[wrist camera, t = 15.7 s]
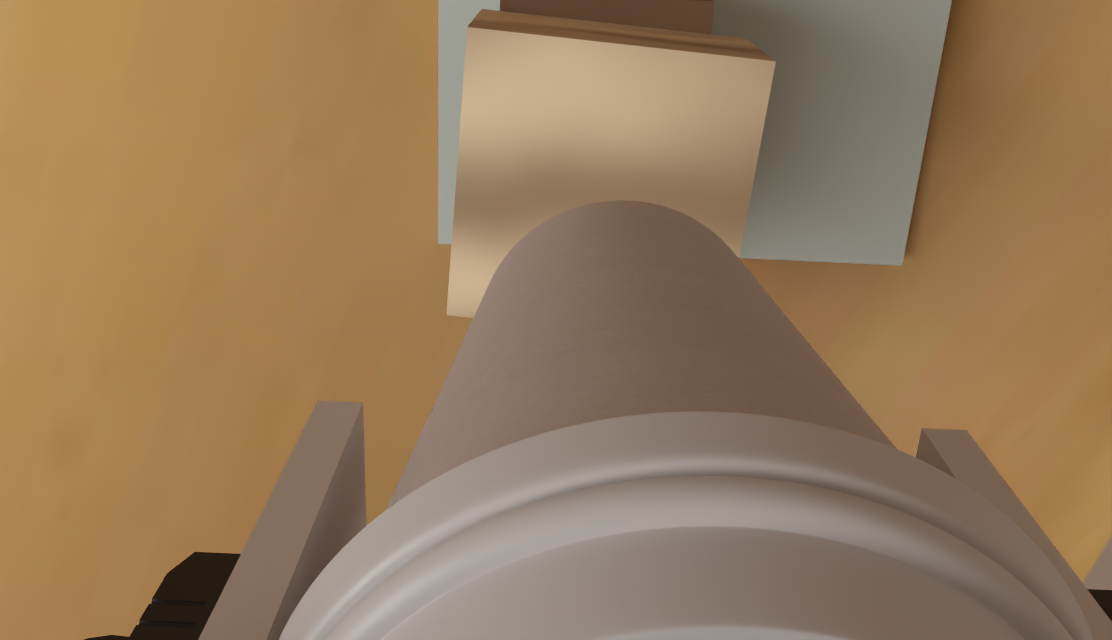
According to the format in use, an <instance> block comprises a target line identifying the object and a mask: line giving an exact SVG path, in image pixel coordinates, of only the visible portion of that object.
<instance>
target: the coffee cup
mask: <svg viewBox="0 0 1112 640" xmlns="http://www.w3.org/2000/svg"><path fill="white" fill-rule="evenodd" d="M279 640H1094V639H1093V636H1092V633H1091V631H1090V628H1089V626H1088V623H1087V621H1086V619H1085V617H1084V615H1083V612H1082V610H1081V609H1080V607H1079V605H1078V603H1077V601H1076V599H1075V597H1074V596H1073V594H1072V592H1071V591H1070V589H1069V587H1068V586H1067V584H1066V582H1065V581H1064V579H1063V578H1062V577H1061V575H1060V574H1059V572H1058V571H1057V569H1056V568H1055V567H1054V565H1053V564H1052V563H1051V561H1050V560H1049V559H1048V558H1047V556H1046V555H1045V554H1044V553H1043V552H1042V551H1041V549H1040V548H1039V547H1038V546H1037V545H1036V544H1035V543H1034V542H1033V540H1032V539H1031V538H1030V537H1029V536H1028V535H1027V534H1026V533H1025V532H1024V531H1023V530H1022V529H1021V528H1020V527H1019V526H1018V525H1016V524H1015V523H1014V522H1013V521H1012V520H1011V519H1010V518H1009V517H1008V516H1006V515H1005V514H1004V513H1003V512H1002V511H1001V510H999V509H998V508H997V507H996V506H994V505H993V504H992V503H990V502H989V501H988V500H986V499H985V498H984V497H982V496H981V495H980V494H978V493H977V492H975V491H974V490H972V489H971V488H969V487H968V486H966V485H965V484H963V483H962V482H960V481H958V480H957V479H955V478H954V477H952V476H950V475H948V474H947V473H945V472H943V471H941V470H939V469H938V468H936V467H934V466H932V465H930V464H928V463H926V462H924V461H922V460H920V459H918V458H916V457H913V456H911V455H909V454H907V453H904V452H902V451H900V450H898V449H897V448H896V447H895V446H894V445H893V444H892V442H891V441H890V440H889V439H888V438H887V436H886V435H885V434H884V433H883V432H882V431H881V429H880V428H879V427H878V426H877V425H876V423H875V422H874V421H873V420H872V419H871V417H870V416H869V415H868V414H867V413H866V411H865V410H864V409H863V408H862V407H861V406H860V404H859V403H858V402H857V401H856V400H855V398H854V397H853V396H852V395H851V394H850V392H849V391H848V390H847V389H846V388H845V386H844V385H843V384H842V383H841V382H840V380H839V379H838V378H837V377H836V376H835V374H834V373H833V372H832V371H831V369H830V368H829V367H828V366H827V365H826V363H825V362H824V361H823V360H822V359H821V357H820V356H819V355H818V354H817V353H816V351H815V350H814V349H813V348H812V347H811V345H810V344H809V343H808V342H807V341H806V339H805V338H804V337H803V336H802V335H801V333H800V332H799V331H798V330H797V329H796V327H795V326H794V325H793V324H792V322H791V321H790V320H789V319H788V318H787V316H786V315H785V314H784V313H783V312H782V310H781V309H780V308H779V307H778V306H777V304H776V303H775V302H774V301H773V299H772V298H771V297H770V296H769V295H768V293H767V292H766V291H765V290H764V289H763V287H762V286H761V285H760V284H759V282H758V281H757V280H756V279H755V278H754V276H753V275H752V274H751V273H750V272H749V270H748V269H747V268H746V267H745V265H744V264H743V263H742V262H741V261H740V259H739V258H738V257H737V256H736V255H735V253H734V252H733V251H732V250H731V249H730V248H729V247H728V245H727V244H726V243H725V242H724V241H723V240H722V239H721V238H720V237H718V236H717V235H716V234H715V233H714V232H712V231H711V230H710V229H709V228H707V227H706V226H704V225H703V224H701V223H700V222H698V221H697V220H695V219H693V218H691V217H689V216H687V215H685V214H683V213H681V212H679V211H676V210H673V209H670V208H668V207H664V206H661V205H657V204H652V203H647V202H639V201H624V200H621V201H605V202H597V203H592V204H587V205H583V206H580V207H576V208H573V209H570V210H568V211H565V212H563V213H560V214H558V215H556V216H554V217H552V218H550V219H548V220H547V221H545V222H543V223H542V224H540V225H539V226H537V227H536V228H534V229H533V230H532V231H530V232H529V233H528V234H527V235H525V236H524V237H523V238H522V239H521V240H520V241H519V242H518V243H517V244H516V245H515V246H514V247H513V248H512V249H511V250H510V251H509V253H508V254H507V255H506V256H505V258H504V259H503V260H502V262H501V263H500V265H499V266H498V268H497V269H496V271H495V273H494V275H493V277H492V279H491V281H490V283H489V285H488V287H487V289H486V291H485V293H484V296H483V298H482V300H481V302H480V305H479V307H478V309H477V311H476V313H475V316H474V318H473V320H472V322H471V325H470V327H469V329H468V331H467V333H466V336H465V338H464V340H463V342H462V345H461V347H460V349H459V351H458V353H457V356H456V358H455V360H454V362H453V364H452V367H451V369H450V371H449V373H448V375H447V378H446V380H445V382H444V384H443V386H442V389H441V391H440V393H439V395H438V397H437V400H436V402H435V404H434V406H433V408H432V411H431V413H430V415H429V417H428V419H427V422H426V424H425V426H424V428H423V430H422V433H421V435H420V437H419V439H418V441H417V444H416V446H415V448H414V450H413V452H412V454H411V457H410V459H409V461H408V463H407V465H406V467H405V470H404V472H403V474H402V476H401V478H400V480H399V483H398V485H397V487H396V489H395V491H394V493H393V496H392V498H391V500H390V502H389V504H388V506H387V508H386V511H384V512H383V513H382V514H380V515H379V516H378V517H377V518H376V519H374V520H373V521H372V522H371V523H369V524H368V525H367V526H366V527H365V528H364V529H363V530H361V531H360V532H359V533H358V534H357V535H356V536H355V537H354V538H353V539H352V540H351V541H349V542H348V543H347V544H346V545H345V546H344V547H343V548H342V549H341V550H340V551H339V553H338V554H337V555H336V556H335V557H334V558H333V559H332V560H331V561H330V562H329V563H328V565H327V566H326V567H325V568H324V569H323V571H322V572H321V573H320V574H319V575H318V577H317V578H316V579H315V581H314V582H313V583H312V585H311V586H310V587H309V589H308V590H307V591H306V593H305V594H304V596H303V597H302V599H301V600H300V602H299V603H298V605H297V607H296V608H295V610H294V612H293V613H292V615H291V617H290V618H289V620H288V622H287V624H286V626H285V628H284V630H283V632H282V634H281V636H280V638H279Z"/></svg>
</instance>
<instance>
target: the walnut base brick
mask: <svg viewBox="0 0 1112 640" xmlns="http://www.w3.org/2000/svg"><path fill="white" fill-rule="evenodd" d="M714 4H715V1H713V0H500V11H506V12H515V13H524V14H533V15H542V16H550V17H559V18H568V19H577V20H586V21H595V22H604V23H613V24H622V25H631V26H640V27H649V28H657V29H666V30H675V31H684V32H693V33H702V34H711V33H712V23H713V13H714Z"/></svg>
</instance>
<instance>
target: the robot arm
mask: <svg viewBox="0 0 1112 640" xmlns="http://www.w3.org/2000/svg"><path fill="white" fill-rule="evenodd" d="M916 458H918V459H920V460H922V461H924V462H926V463H928V464H930V465H932V466H934V467H936V468H938V469H939V470H941V471H943V472H945V473H947V474H948V475H950V476H952V477H954V478H955V479H957V480H958V481H960V482H962V483H963V484H965V485H966V486H968V487H969V488H971V489H972V490H974V491H975V492H977V493H978V494H980V495H981V496H982V497H984V498H985V499H986V500H988V501H989V502H990V503H992V504H993V505H994V506H996V507H997V508H998V509H999V510H1001V511H1002V512H1003V513H1004V514H1005V515H1006V516H1008V517H1009V518H1010V519H1011V520H1012V521H1013V522H1014V523H1015V524H1016V525H1018V526H1019V527H1020V528H1021V529H1022V530H1023V531H1024V532H1025V533H1026V534H1027V535H1028V536H1029V537H1030V538H1031V539H1032V540H1033V542H1034V543H1035V544H1036V545H1037V546H1038V547H1039V548H1040V549H1041V551H1042V552H1043V553H1044V554H1045V555H1046V556H1047V558H1048V559H1049V560H1050V561H1051V563H1052V564H1053V565H1054V567H1055V568H1056V569H1057V571H1058V572H1059V574H1060V575H1061V577H1062V578H1063V579H1064V581H1065V582H1066V584H1067V586H1068V587H1069V589H1070V591H1071V592H1072V594H1073V596H1074V597H1075V599H1076V601H1077V603H1078V605H1079V607H1080V609H1081V610H1082V612H1083V615H1084V617H1085V619H1086V621H1087V623H1088V626H1089V628H1090V631H1091V633H1092V636H1093V639H1094V640H1112V590H1092V589H1086V587H1085V586H1084V584H1083V583H1082V582H1081V581H1080V579H1079V578H1078V577H1077V575H1076V574H1075V573H1074V571H1073V570H1072V569H1071V567H1070V566H1069V565H1068V563H1067V562H1066V561H1065V559H1064V558H1063V557H1062V555H1061V554H1060V553H1059V551H1058V550H1057V549H1056V547H1055V546H1054V545H1053V544H1052V542H1051V541H1050V540H1049V538H1048V537H1047V536H1046V534H1045V533H1044V532H1043V530H1042V529H1041V528H1040V526H1039V525H1038V524H1037V522H1036V521H1035V520H1034V518H1033V517H1032V516H1031V514H1030V513H1029V512H1028V511H1027V509H1026V508H1025V507H1024V505H1023V504H1022V503H1021V501H1020V500H1019V499H1018V497H1017V496H1016V495H1015V493H1014V492H1013V491H1012V489H1011V488H1010V487H1009V485H1008V484H1007V483H1006V481H1005V480H1004V479H1003V478H1002V476H1001V475H1000V474H999V472H998V471H997V470H996V468H995V467H994V466H993V464H992V463H991V462H990V460H989V459H988V458H987V456H986V455H985V454H984V452H983V451H982V450H981V448H980V447H979V446H978V445H977V443H976V442H975V441H974V439H973V438H972V437H971V435H970V434H969V433H968V431H967V430H951V429H930V428H922V431H921V436H920V440H919V445H918V450H917V455H916ZM366 526H367V525H366V492H365V459H364V425H363V403H362V402H340V401H317V403H316V405H315V407H314V409H313V411H312V413H311V415H310V417H309V419H308V421H307V423H306V425H305V427H304V429H303V431H302V433H301V435H300V437H299V439H298V441H297V443H296V445H295V447H294V449H293V451H292V453H291V455H290V457H289V459H288V461H287V463H286V465H285V467H284V469H283V471H282V473H281V475H280V477H279V479H278V481H277V483H276V485H275V487H274V489H273V491H272V493H271V495H270V497H269V499H268V501H267V503H266V505H265V507H264V509H263V511H262V513H261V515H260V517H259V519H258V521H257V523H256V525H255V527H254V529H253V531H252V533H251V535H250V537H249V539H248V541H247V543H246V545H245V547H244V549H243V551H242V553H241V554H228V553H206V552H194V553H193V554H192V555H190V556H189V557H188V558H187V559H185V560H184V561H183V562H181V563H180V564H179V565H178V566H176V567H175V568H174V569H172V570H171V571H170V572H169V573H167V575H166V576H165V578H164V580H163V581H162V583H161V585H160V586H159V588H158V590H157V591H156V593H155V595H154V596H153V598H152V603H151V604H149V605H148V607H147V608H146V610H145V612H144V613H143V615H142V617H141V618H140V622H139V625H136V627H135V628H134V630H133V632H132V633H131V635H130V637H125V636H116V635H109V636H102V637H94V638H87V639H85V640H279V638H280V636H281V634H282V632H283V630H284V628H285V626H286V624H287V622H288V620H289V618H290V617H291V615H292V613H293V612H294V610H295V608H296V607H297V605H298V603H299V602H300V600H301V599H302V597H303V596H304V594H305V593H306V591H307V590H308V589H309V587H310V586H311V585H312V583H313V582H314V581H315V579H316V578H317V577H318V575H319V574H320V573H321V572H322V571H323V569H324V568H325V567H326V566H327V565H328V563H329V562H330V561H331V560H332V559H333V558H334V557H335V556H336V555H337V554H338V553H339V551H340V550H341V549H342V548H343V547H344V546H345V545H346V544H347V543H348V542H349V541H351V540H352V539H353V538H354V537H355V536H356V535H357V534H358V533H359V532H360V531H361V530H363V529H364V528H365V527H366Z"/></svg>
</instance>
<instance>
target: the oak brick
mask: <svg viewBox="0 0 1112 640" xmlns="http://www.w3.org/2000/svg"><path fill="white" fill-rule="evenodd" d="M775 64H776V61H775V60H773V59H772V58H771V57H769V56H768V55H767V54H765V53H764V52H763V51H761V50H760V49H759V48H758V47H756V46H755V45H754V44H752V43H751V42H750V41H748V40H747V39H746V38H738V37H729V36H720V35H711V34H702V33H693V32H684V31H675V30H666V29H657V28H649V27H640V26H631V25H622V24H613V23H604V22H595V21H586V20H577V19H568V18H559V17H550V16H542V15H533V14H524V13H515V12H506V11H497V10H488V9H481V10H480V11H479V13H478V14H477V15H476V16H475V18H474V19H473V20H472V21H471V23H470V24H469V25H468V26H467V35H466V49H465V63H464V77H463V91H462V105H461V119H460V133H459V148H458V162H457V176H456V190H455V204H454V218H453V232H452V247H451V261H450V275H449V289H448V303H447V315H452V316H462V317H471V318H474V316H475V313H476V311H477V309H478V307H479V305H480V302H481V300H482V298H483V296H484V293H485V291H486V289H487V287H488V285H489V283H490V281H491V279H492V277H493V275H494V273H495V271H496V269H497V268H498V266H499V265H500V263H501V262H502V260H503V259H504V258H505V256H506V255H507V254H508V253H509V251H510V250H511V249H512V248H513V247H514V246H515V245H516V244H517V243H518V242H519V241H520V240H521V239H522V238H523V237H524V236H525V235H527V234H528V233H529V232H530V231H532V230H533V229H534V228H536V227H537V226H539V225H540V224H542V223H543V222H545V221H547V220H548V219H550V218H552V217H554V216H556V215H558V214H560V213H563V212H565V211H568V210H570V209H573V208H576V207H580V206H583V205H587V204H592V203H597V202H605V201H621V200H624V201H639V202H647V203H652V204H657V205H661V206H664V207H668V208H670V209H673V210H676V211H679V212H681V213H683V214H685V215H687V216H689V217H691V218H693V219H695V220H697V221H698V222H700V223H701V224H703V225H704V226H706V227H707V228H709V229H710V230H711V231H712V232H714V233H715V234H716V235H717V236H718V237H720V238H721V239H722V240H723V241H724V242H725V243H726V244H727V245H728V247H729V248H730V249H731V250H732V251H733V252H734V253H735V255H736V256H737V257H738V258H739V257H740V252H741V246H742V241H743V236H744V230H745V225H746V219H747V214H748V209H749V203H750V198H751V193H752V187H753V182H754V177H755V171H756V166H757V160H758V155H759V150H760V144H761V139H762V134H763V128H764V123H765V118H766V112H767V107H768V101H769V96H770V91H771V85H772V80H773V75H774V69H775Z"/></svg>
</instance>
